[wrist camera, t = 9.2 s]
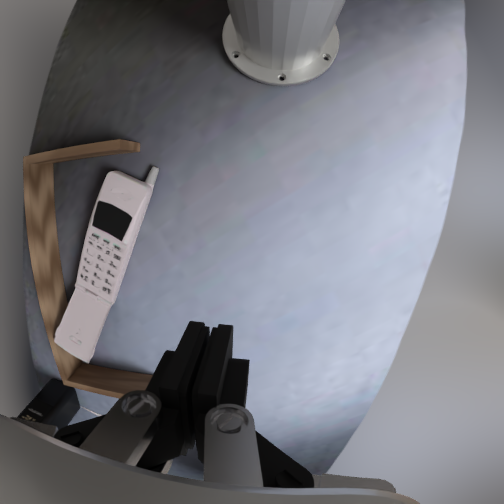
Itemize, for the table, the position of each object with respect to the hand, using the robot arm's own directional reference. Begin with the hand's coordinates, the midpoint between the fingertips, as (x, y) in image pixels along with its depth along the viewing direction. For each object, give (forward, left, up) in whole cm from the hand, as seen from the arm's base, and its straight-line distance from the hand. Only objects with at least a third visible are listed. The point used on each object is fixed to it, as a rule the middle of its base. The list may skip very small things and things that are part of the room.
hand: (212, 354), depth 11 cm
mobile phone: (+3, -17, -23) cm, 28 cm away
